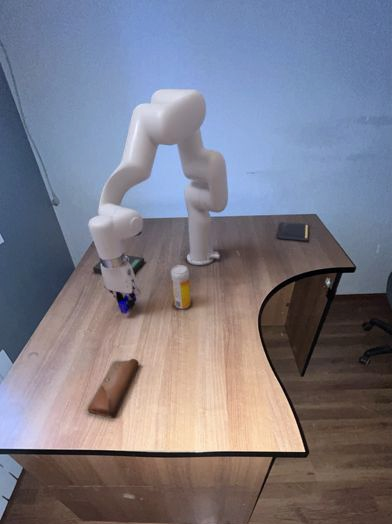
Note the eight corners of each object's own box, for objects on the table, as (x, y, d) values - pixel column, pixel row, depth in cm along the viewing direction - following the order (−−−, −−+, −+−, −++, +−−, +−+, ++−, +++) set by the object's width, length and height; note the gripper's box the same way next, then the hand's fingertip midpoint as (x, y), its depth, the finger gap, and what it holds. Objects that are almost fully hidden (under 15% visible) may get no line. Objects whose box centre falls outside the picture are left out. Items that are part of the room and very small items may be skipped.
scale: (144, 262, 122) (143, 256, 120) (130, 278, 113) (128, 272, 111) (110, 257, 127) (108, 251, 124) (94, 272, 118) (92, 266, 115)
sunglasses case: (113, 360, 81) (119, 349, 76) (134, 370, 83) (141, 360, 78) (85, 412, 69) (89, 402, 64) (110, 422, 71) (116, 414, 66)
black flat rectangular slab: (281, 219, 146) (310, 222, 142) (280, 223, 147) (309, 226, 143) (277, 235, 133) (308, 238, 129) (276, 238, 134) (307, 242, 131)
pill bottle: (192, 301, 101) (191, 265, 90) (187, 311, 97) (184, 275, 86) (178, 298, 102) (174, 263, 92) (172, 308, 99) (167, 272, 88)
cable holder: (128, 298, 99) (125, 289, 96) (136, 300, 98) (134, 291, 95) (117, 311, 94) (114, 302, 91) (126, 313, 93) (123, 304, 90)
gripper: (142, 256, 83) (152, 303, 96) (96, 250, 87) (112, 296, 100) (131, 269, 78) (143, 316, 92) (83, 262, 82) (102, 308, 96)
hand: (127, 305), depth 96 cm, fingers closed on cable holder, 3 cm apart
